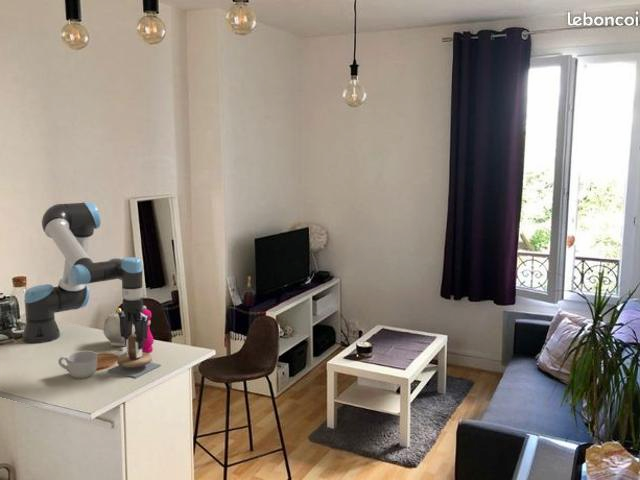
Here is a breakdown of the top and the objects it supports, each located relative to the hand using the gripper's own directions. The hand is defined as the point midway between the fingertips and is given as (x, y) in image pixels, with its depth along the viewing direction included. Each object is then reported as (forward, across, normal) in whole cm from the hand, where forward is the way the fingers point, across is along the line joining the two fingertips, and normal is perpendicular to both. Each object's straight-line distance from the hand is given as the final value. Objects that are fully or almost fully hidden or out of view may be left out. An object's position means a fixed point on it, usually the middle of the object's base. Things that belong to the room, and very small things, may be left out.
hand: (134, 355), depth 230 cm
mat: (+5, 0, 0) cm, 5 cm away
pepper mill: (+6, -10, +17) cm, 21 cm away
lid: (+2, 0, 0) cm, 2 cm away
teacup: (+6, -14, -15) cm, 21 cm away
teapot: (+6, -24, +18) cm, 31 cm away
